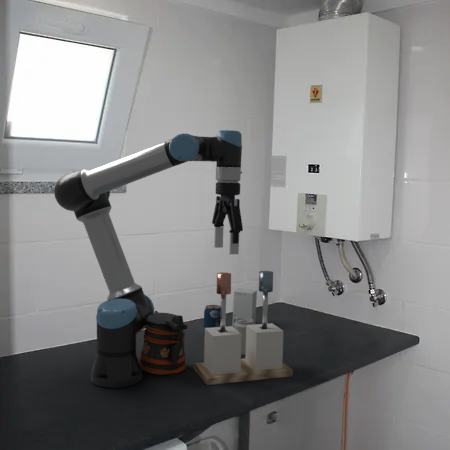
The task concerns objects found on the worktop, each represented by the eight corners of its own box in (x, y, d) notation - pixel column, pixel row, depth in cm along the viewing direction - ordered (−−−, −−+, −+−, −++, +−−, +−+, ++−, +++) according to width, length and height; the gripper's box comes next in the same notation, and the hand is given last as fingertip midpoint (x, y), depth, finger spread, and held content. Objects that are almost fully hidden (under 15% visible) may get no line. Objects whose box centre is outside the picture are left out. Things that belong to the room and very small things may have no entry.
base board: (206, 385, 175) (207, 378, 175) (194, 369, 189) (194, 363, 188) (292, 376, 184) (292, 369, 184) (274, 361, 198) (274, 355, 197)
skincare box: (231, 329, 235) (232, 290, 233) (236, 325, 241) (237, 287, 239) (252, 331, 232) (253, 292, 230) (256, 327, 238) (257, 289, 237)
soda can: (220, 341, 219) (221, 309, 218) (202, 339, 220) (202, 308, 219) (223, 335, 226) (224, 305, 224) (205, 334, 227) (206, 303, 226)
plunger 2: (260, 333, 185) (262, 273, 183) (255, 329, 189) (257, 271, 187) (273, 332, 186) (275, 273, 184) (268, 328, 190) (269, 270, 188)
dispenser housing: (212, 374, 178) (213, 336, 177) (204, 365, 187) (204, 328, 186) (282, 367, 186) (283, 330, 184) (270, 358, 194) (272, 323, 193)
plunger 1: (218, 336, 180) (219, 275, 178) (213, 332, 184) (215, 272, 182) (231, 335, 181) (233, 274, 179) (227, 331, 186) (228, 272, 184)
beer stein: (201, 376, 183) (206, 314, 181) (160, 384, 175) (165, 319, 172) (170, 356, 198) (175, 298, 196) (131, 362, 190) (135, 302, 187)
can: (229, 354, 204) (230, 320, 203) (238, 348, 211) (239, 315, 209) (248, 358, 201) (249, 323, 199) (257, 352, 207) (258, 318, 206)
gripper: (255, 183, 169) (252, 256, 172) (225, 180, 193) (223, 244, 195) (231, 183, 167) (228, 257, 169) (203, 179, 190) (201, 245, 192)
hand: (225, 250), depth 182 cm, fingers open, 13 cm apart
